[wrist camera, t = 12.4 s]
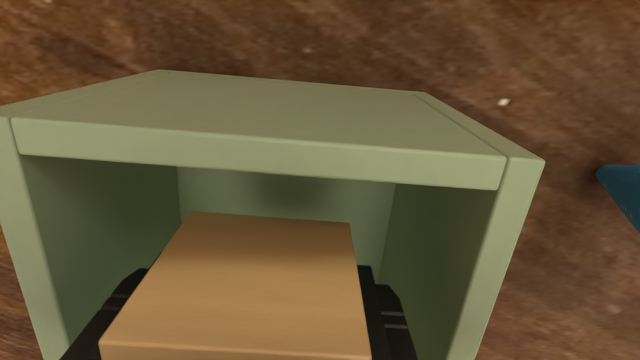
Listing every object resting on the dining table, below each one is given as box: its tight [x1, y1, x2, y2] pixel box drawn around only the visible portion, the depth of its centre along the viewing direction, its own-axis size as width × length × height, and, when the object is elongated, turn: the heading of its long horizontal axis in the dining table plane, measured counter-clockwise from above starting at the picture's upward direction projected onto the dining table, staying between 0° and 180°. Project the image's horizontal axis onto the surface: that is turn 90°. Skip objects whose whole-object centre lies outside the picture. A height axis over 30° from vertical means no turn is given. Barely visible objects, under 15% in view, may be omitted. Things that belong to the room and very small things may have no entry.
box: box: [0, 69, 545, 360], centre depth 14 cm, size 14×12×9 cm
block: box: [98, 211, 372, 360], centre depth 8 cm, size 4×4×4 cm
